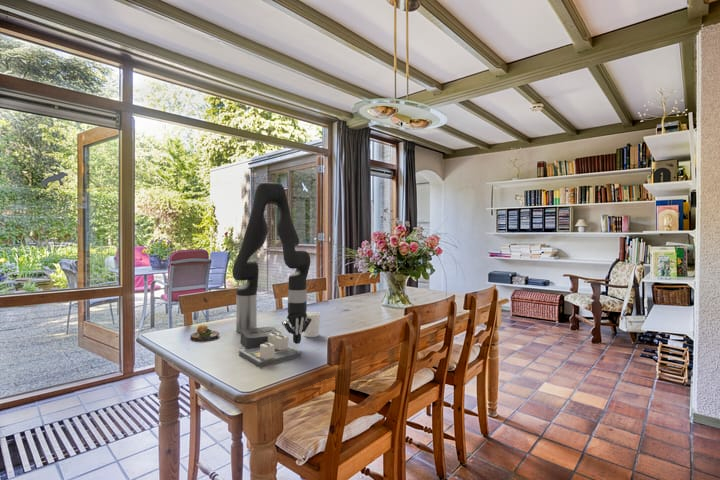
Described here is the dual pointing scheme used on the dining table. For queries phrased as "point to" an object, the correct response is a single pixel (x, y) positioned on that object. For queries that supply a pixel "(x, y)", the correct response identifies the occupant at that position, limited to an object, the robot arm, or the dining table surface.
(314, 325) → the white cup
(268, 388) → the dining table surface
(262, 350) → the cream striped block
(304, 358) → the dining table surface
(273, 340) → the tab
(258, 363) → the switch board
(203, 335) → the wood slice table decoration
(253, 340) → the streaming box
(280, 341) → the tab
